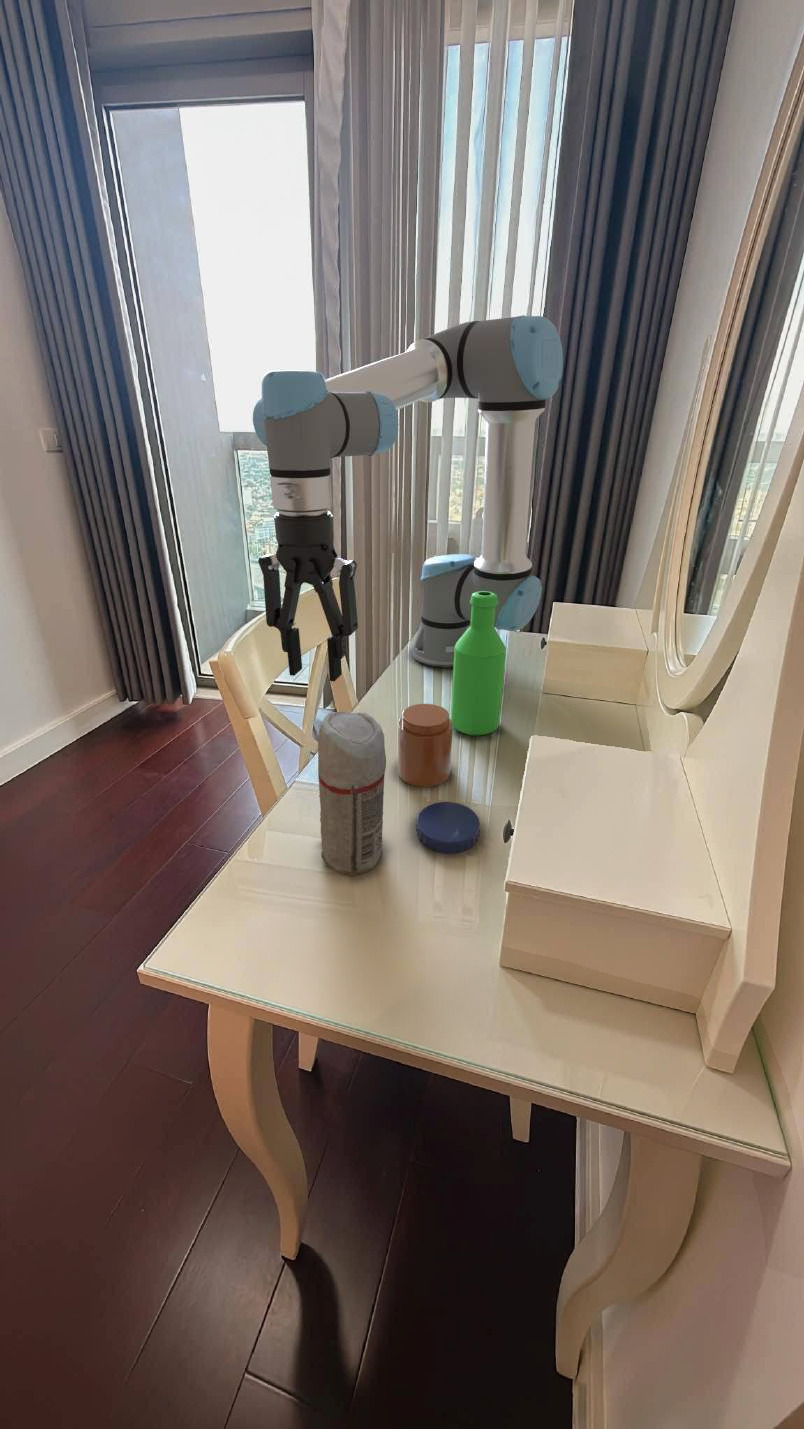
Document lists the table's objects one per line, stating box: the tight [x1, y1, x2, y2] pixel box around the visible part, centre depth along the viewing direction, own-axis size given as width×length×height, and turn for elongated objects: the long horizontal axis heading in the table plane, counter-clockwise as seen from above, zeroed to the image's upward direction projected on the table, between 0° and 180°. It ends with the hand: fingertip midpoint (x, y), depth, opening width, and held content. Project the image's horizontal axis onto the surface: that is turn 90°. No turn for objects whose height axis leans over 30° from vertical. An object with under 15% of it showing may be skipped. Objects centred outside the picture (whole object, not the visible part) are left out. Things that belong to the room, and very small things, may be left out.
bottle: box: [450, 591, 507, 737], centre depth 98 cm, size 9×9×25 cm
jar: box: [397, 703, 454, 788], centre depth 88 cm, size 8×8×11 cm
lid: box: [415, 801, 481, 854], centre depth 78 cm, size 9×9×2 cm
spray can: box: [317, 710, 387, 876], centre depth 70 cm, size 8×8×20 cm
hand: (315, 674), depth 84 cm, fingers open, 6 cm apart
